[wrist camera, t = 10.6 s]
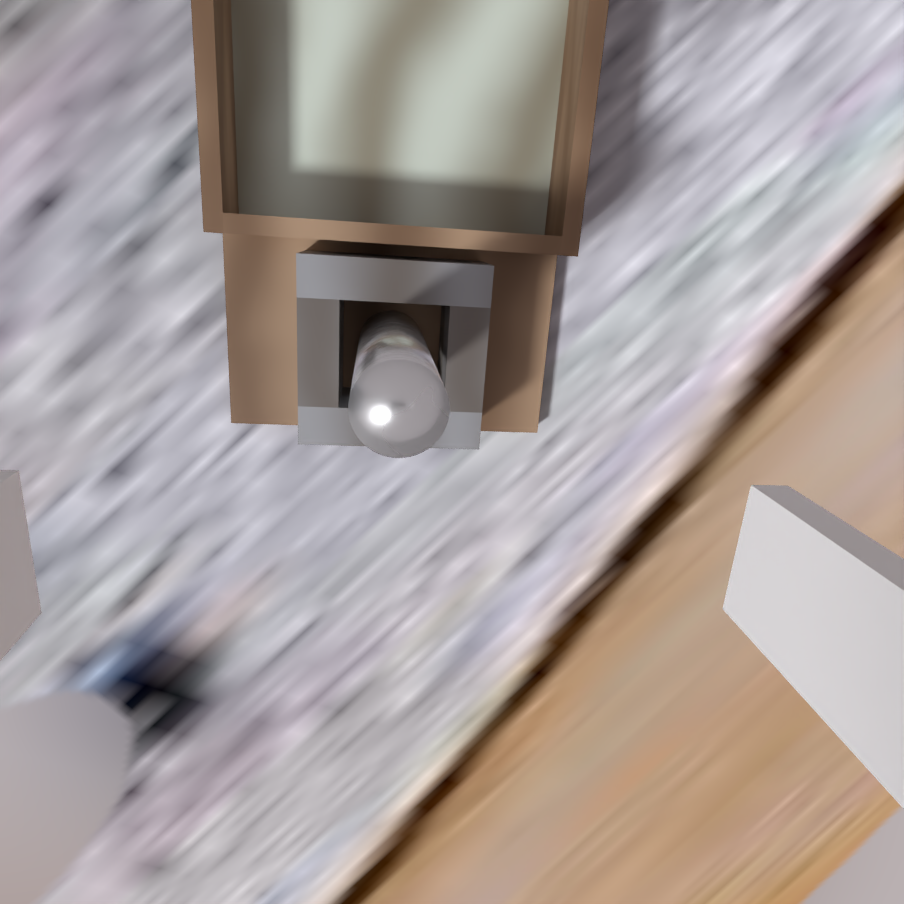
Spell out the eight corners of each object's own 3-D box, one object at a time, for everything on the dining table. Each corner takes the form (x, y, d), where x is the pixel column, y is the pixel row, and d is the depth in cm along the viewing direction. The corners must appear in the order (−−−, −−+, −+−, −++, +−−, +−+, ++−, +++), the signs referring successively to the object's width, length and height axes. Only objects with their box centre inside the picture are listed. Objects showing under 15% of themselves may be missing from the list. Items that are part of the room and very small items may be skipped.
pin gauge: (358, 372, 33) (347, 456, 21) (359, 309, 32) (348, 357, 20) (421, 374, 33) (447, 458, 21) (424, 311, 32) (452, 361, 20)
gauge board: (235, 417, 34) (212, 448, 30) (205, -279, 25) (165, -394, 21) (533, 427, 36) (556, 457, 31) (603, -216, 27) (651, -308, 22)
